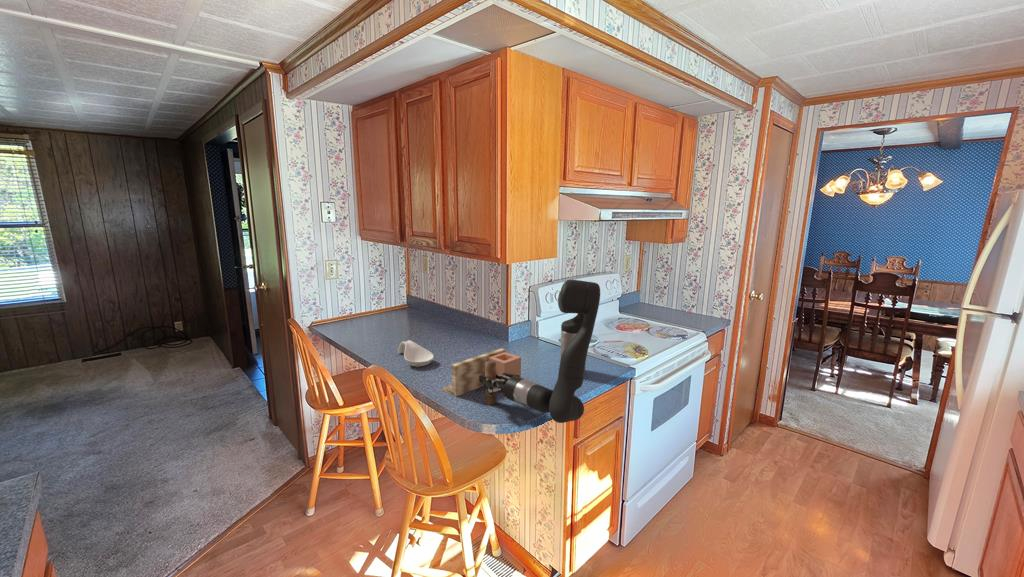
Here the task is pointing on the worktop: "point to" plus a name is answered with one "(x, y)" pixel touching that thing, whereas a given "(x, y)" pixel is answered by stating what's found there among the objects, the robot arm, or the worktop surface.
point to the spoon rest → (415, 354)
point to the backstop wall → (468, 373)
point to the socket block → (507, 363)
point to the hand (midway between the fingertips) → (484, 376)
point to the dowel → (490, 373)
